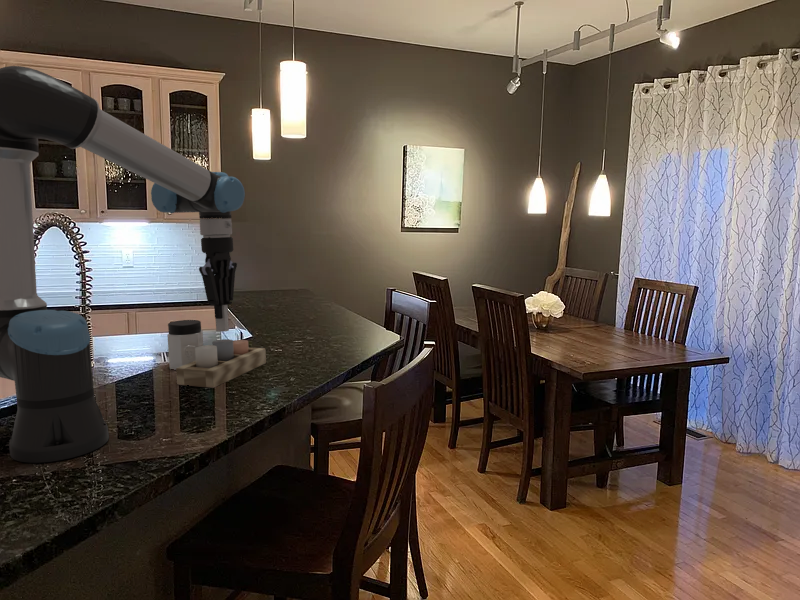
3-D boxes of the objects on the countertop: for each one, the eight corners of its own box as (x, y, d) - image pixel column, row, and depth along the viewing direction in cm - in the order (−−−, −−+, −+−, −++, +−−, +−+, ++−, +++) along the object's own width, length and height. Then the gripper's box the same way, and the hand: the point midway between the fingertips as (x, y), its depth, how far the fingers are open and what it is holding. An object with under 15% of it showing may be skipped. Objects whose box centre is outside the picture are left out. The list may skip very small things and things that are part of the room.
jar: (173, 373, 154) (170, 326, 152) (166, 366, 161) (163, 322, 159) (209, 367, 159) (206, 322, 157) (200, 361, 166) (197, 318, 164)
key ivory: (209, 370, 143) (208, 350, 142) (192, 369, 144) (190, 349, 144) (222, 365, 148) (221, 345, 147) (204, 364, 149) (203, 344, 148)
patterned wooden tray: (213, 387, 140) (212, 371, 140) (177, 384, 143) (176, 368, 143) (266, 362, 163) (265, 348, 162) (233, 360, 166) (233, 346, 165)
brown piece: (242, 363, 156) (241, 344, 156) (225, 362, 158) (224, 343, 157) (252, 358, 161) (251, 340, 160) (236, 357, 163) (235, 339, 162)
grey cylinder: (226, 363, 150) (225, 344, 149) (209, 362, 151) (208, 343, 150) (237, 359, 154) (236, 339, 154) (221, 357, 156) (219, 338, 155)
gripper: (214, 237, 141) (220, 336, 144) (244, 235, 153) (249, 326, 157) (187, 237, 143) (193, 335, 147) (219, 235, 155) (224, 325, 159)
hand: (222, 330), depth 152 cm, fingers closed
